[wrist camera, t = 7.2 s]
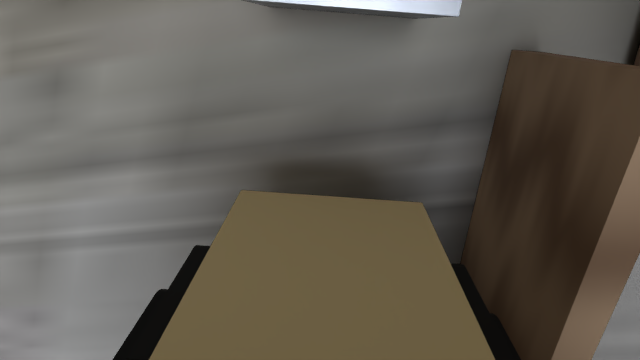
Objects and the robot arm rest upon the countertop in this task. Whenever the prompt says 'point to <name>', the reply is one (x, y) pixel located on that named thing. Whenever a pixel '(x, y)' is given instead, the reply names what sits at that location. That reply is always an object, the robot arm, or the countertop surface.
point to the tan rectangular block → (324, 286)
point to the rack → (558, 202)
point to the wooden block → (637, 58)
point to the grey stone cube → (374, 7)
